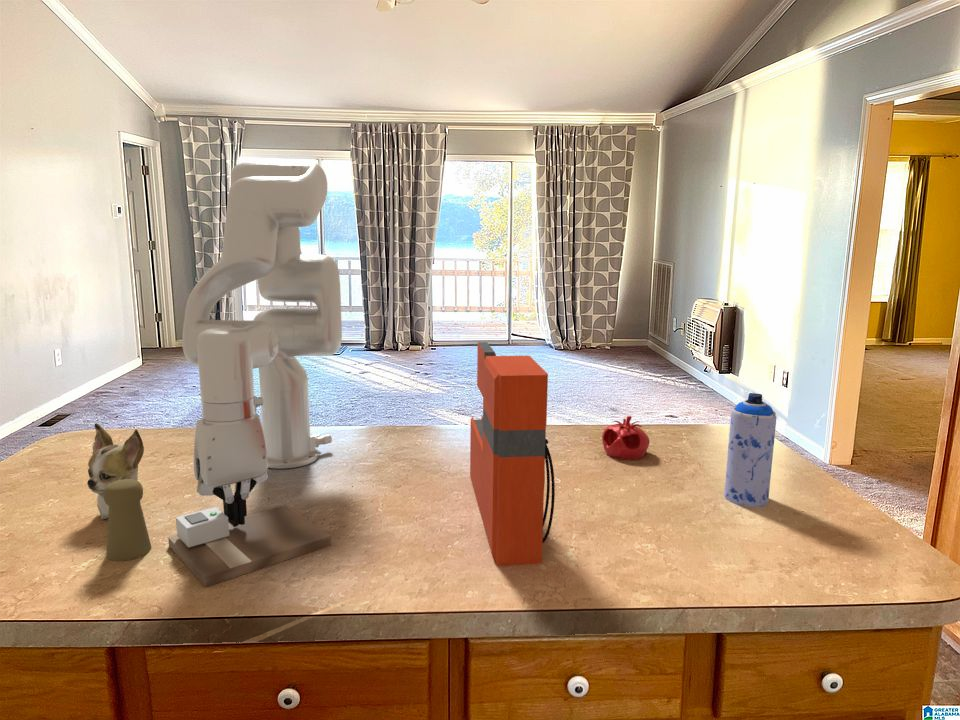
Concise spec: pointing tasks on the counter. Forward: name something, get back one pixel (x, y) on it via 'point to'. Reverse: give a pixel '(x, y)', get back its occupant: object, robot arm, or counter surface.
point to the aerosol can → (750, 452)
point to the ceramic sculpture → (112, 463)
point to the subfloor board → (252, 545)
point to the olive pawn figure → (126, 521)
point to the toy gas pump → (511, 456)
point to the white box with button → (202, 526)
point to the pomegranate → (625, 440)
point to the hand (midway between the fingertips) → (235, 522)
